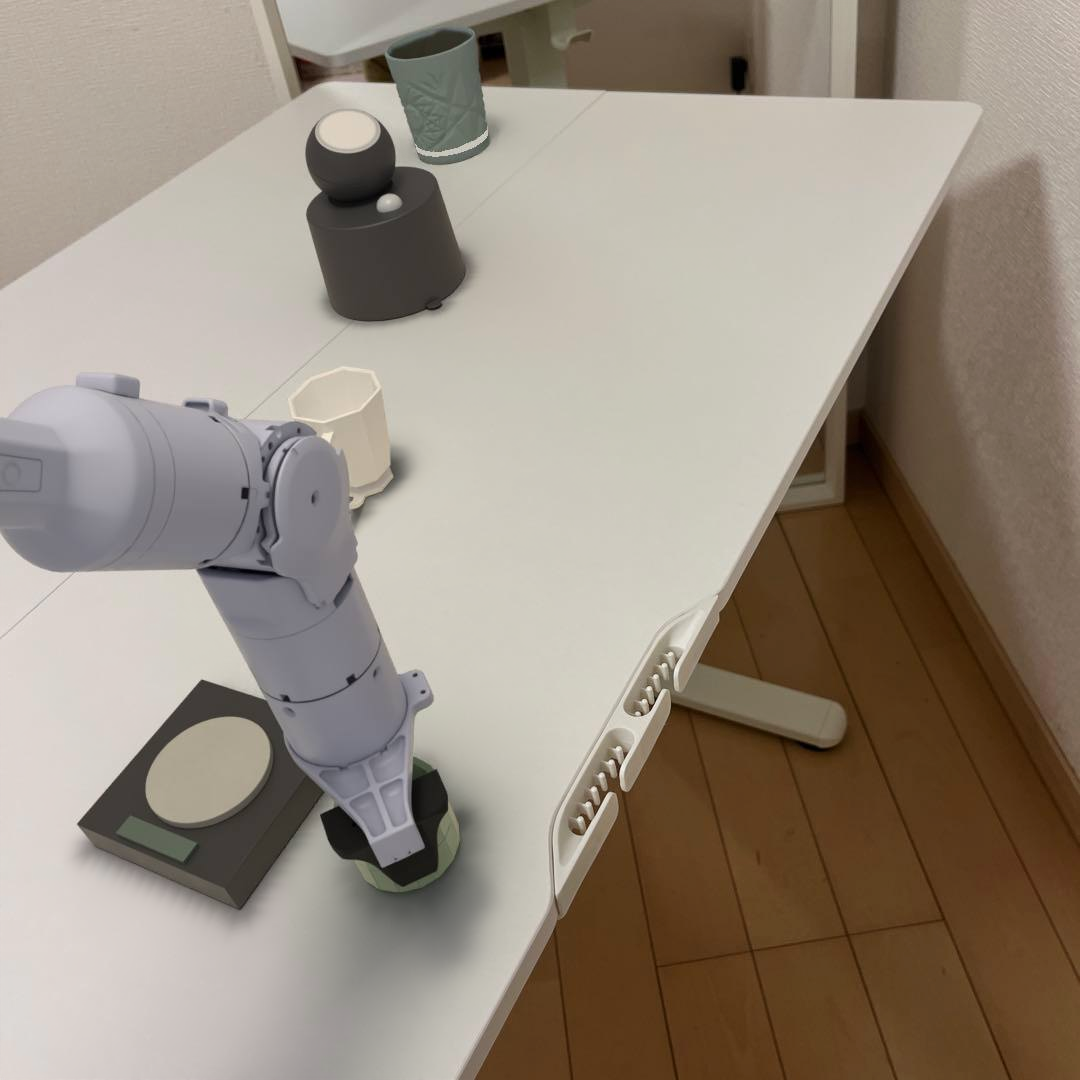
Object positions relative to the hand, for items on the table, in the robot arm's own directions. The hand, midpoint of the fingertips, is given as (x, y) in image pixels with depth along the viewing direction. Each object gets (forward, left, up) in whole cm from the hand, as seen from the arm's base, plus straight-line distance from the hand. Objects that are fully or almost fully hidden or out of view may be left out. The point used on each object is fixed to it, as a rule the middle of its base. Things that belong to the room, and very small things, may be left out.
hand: (399, 826), depth 57 cm
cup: (+21, +24, -2) cm, 32 cm away
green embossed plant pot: (+73, +59, -2) cm, 94 cm away
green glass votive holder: (0, 0, -2) cm, 2 cm away
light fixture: (+46, +43, -2) cm, 63 cm away
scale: (-3, +12, -2) cm, 13 cm away
